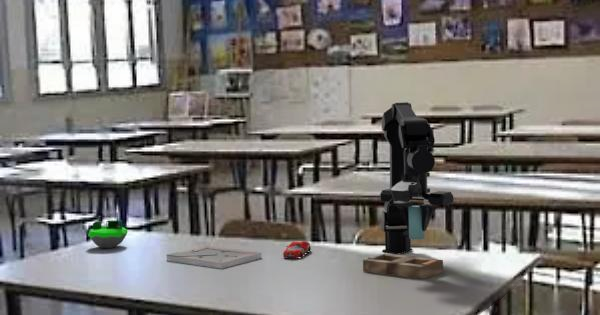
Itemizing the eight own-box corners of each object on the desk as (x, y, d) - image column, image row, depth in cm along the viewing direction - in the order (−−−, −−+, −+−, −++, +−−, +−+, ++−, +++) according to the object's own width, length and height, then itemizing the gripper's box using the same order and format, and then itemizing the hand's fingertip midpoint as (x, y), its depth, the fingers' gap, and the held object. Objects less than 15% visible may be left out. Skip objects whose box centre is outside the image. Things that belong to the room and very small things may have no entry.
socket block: (363, 271, 247) (362, 258, 247) (384, 264, 255) (384, 252, 255) (422, 278, 236) (422, 265, 236) (443, 271, 244) (442, 258, 243)
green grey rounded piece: (131, 244, 300) (130, 209, 299) (121, 250, 288) (120, 214, 287) (94, 244, 301) (93, 210, 300) (82, 250, 289) (81, 215, 289)
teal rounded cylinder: (406, 238, 242) (405, 207, 241) (414, 236, 245) (413, 205, 244) (419, 239, 239) (418, 208, 238) (427, 237, 242) (427, 206, 241)
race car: (298, 261, 265) (298, 246, 265) (280, 260, 267) (280, 246, 267) (313, 251, 278) (313, 238, 277) (296, 251, 279) (295, 237, 279)
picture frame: (166, 263, 270) (221, 271, 257) (166, 254, 270) (221, 262, 257) (207, 253, 283) (261, 260, 270) (207, 244, 283) (261, 251, 269)
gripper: (366, 171, 240) (368, 232, 241) (430, 174, 228) (432, 238, 230) (391, 166, 249) (392, 225, 250) (454, 169, 237) (455, 231, 238)
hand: (416, 230), depth 242 cm, fingers closed on teal rounded cylinder, 4 cm apart
